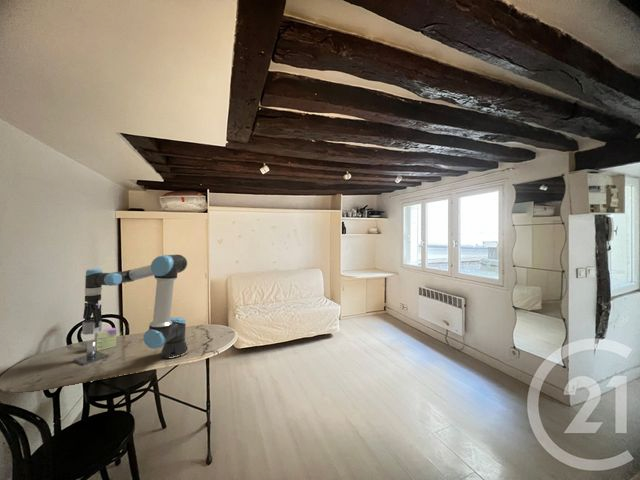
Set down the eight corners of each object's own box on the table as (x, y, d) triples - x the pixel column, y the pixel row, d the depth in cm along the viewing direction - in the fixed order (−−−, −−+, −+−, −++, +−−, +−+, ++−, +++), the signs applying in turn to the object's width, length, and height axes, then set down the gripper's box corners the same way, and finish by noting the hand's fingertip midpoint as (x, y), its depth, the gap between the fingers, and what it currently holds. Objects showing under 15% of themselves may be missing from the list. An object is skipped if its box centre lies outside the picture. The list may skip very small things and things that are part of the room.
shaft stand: (108, 357, 156) (108, 340, 156) (83, 365, 145) (84, 347, 145) (97, 353, 161) (98, 337, 161) (73, 361, 150) (73, 343, 150)
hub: (103, 331, 155) (103, 319, 155) (87, 335, 148) (87, 323, 148) (96, 329, 158) (96, 318, 159) (80, 333, 151) (80, 321, 151)
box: (113, 344, 175) (114, 327, 176) (116, 346, 172) (116, 329, 172) (93, 349, 167) (94, 331, 167) (96, 351, 164) (97, 333, 164)
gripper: (110, 295, 153) (108, 332, 152) (91, 291, 161) (90, 327, 161) (95, 297, 146) (93, 336, 145) (76, 293, 154) (75, 330, 154)
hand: (91, 331), depth 153 cm, fingers closed on hub, 8 cm apart
